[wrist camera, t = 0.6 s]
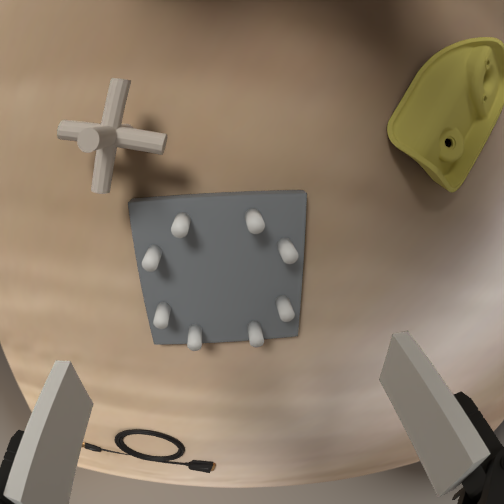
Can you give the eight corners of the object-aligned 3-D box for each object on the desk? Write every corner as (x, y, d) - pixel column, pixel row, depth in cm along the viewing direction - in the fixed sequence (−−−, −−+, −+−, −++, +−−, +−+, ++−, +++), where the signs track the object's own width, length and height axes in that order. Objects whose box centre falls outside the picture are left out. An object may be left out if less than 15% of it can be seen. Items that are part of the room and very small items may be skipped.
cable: (73, 408, 44) (71, 414, 43) (225, 437, 50) (226, 443, 49) (82, 443, 49) (80, 449, 48) (212, 467, 55) (212, 473, 54)
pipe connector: (76, 172, 29) (28, 196, 20) (92, 80, 25) (45, 70, 16) (162, 188, 31) (141, 217, 22) (184, 92, 27) (169, 80, 18)
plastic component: (453, 197, 33) (430, 166, 26) (412, 169, 38) (378, 136, 31) (514, 82, 25) (499, 31, 19) (471, 64, 30) (448, 16, 24)
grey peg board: (131, 198, 31) (119, 211, 27) (303, 189, 33) (315, 200, 29) (155, 337, 38) (150, 360, 34) (295, 328, 40) (303, 351, 36)
